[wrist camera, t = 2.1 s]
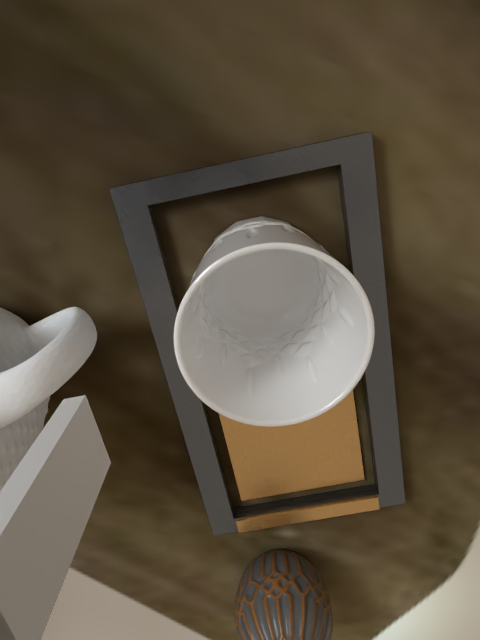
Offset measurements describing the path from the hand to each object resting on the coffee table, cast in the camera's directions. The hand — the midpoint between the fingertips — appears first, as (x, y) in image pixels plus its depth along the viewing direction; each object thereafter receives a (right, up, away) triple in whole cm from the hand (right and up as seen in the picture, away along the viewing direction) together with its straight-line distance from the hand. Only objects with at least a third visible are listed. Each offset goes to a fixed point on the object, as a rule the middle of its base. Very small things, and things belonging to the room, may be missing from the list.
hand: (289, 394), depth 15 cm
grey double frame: (+1, 0, +15) cm, 15 cm away
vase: (+1, -17, +22) cm, 28 cm away
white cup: (0, +5, +13) cm, 14 cm away
